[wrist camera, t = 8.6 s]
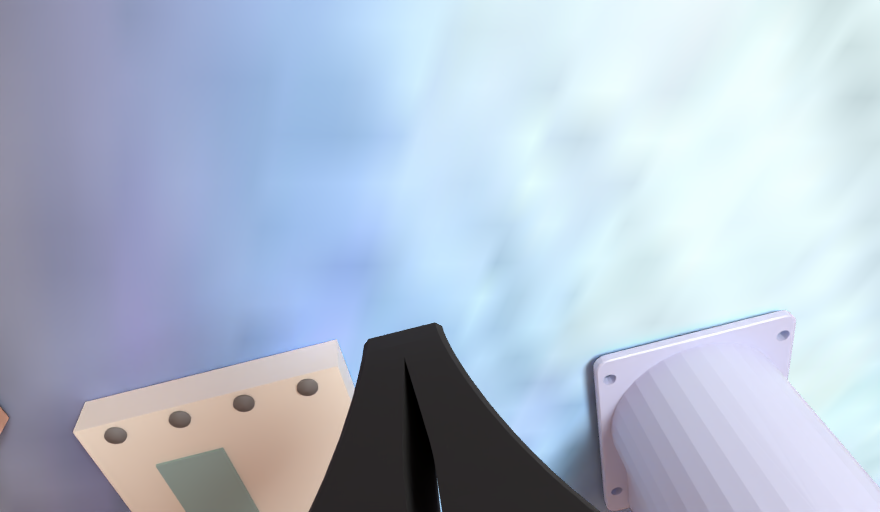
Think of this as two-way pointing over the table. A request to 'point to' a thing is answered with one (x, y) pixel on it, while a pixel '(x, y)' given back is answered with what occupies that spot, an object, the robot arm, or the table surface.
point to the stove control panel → (224, 435)
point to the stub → (3, 419)
